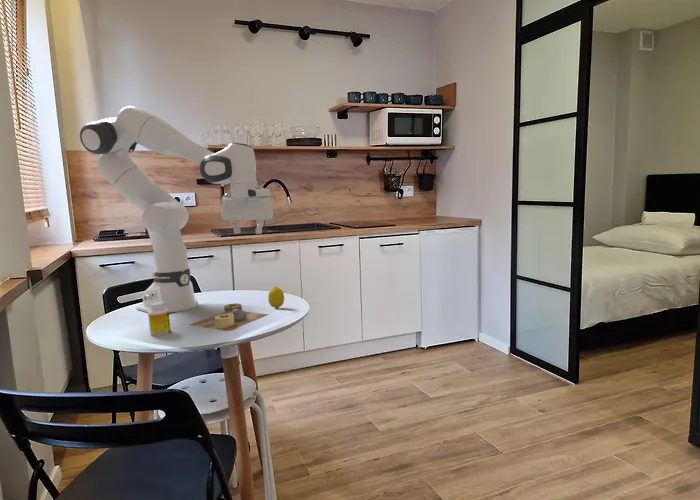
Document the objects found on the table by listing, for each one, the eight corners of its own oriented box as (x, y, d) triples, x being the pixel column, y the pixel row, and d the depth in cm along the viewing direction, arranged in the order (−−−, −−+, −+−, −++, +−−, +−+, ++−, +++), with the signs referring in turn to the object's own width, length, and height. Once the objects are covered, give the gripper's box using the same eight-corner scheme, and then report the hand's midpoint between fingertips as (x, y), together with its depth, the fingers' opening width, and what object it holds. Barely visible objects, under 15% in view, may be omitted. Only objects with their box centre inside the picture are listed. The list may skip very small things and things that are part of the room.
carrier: (188, 328, 141) (187, 315, 141) (230, 313, 157) (228, 301, 156) (229, 334, 133) (228, 320, 133) (269, 317, 149) (268, 305, 148)
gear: (211, 327, 137) (210, 318, 136) (225, 322, 141) (224, 313, 141) (225, 329, 134) (224, 319, 134) (238, 324, 139) (237, 314, 138)
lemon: (281, 311, 156) (280, 288, 155) (266, 311, 157) (264, 288, 156) (287, 307, 162) (285, 284, 161) (272, 307, 163) (270, 285, 162)
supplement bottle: (172, 337, 133) (169, 303, 132) (152, 341, 131) (148, 306, 129) (169, 332, 138) (165, 299, 137) (149, 336, 135) (145, 302, 134)
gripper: (215, 193, 155) (218, 234, 157) (262, 191, 145) (265, 234, 147) (228, 193, 160) (231, 232, 162) (274, 190, 151) (277, 232, 152)
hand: (248, 233), depth 155 cm, fingers open, 8 cm apart
